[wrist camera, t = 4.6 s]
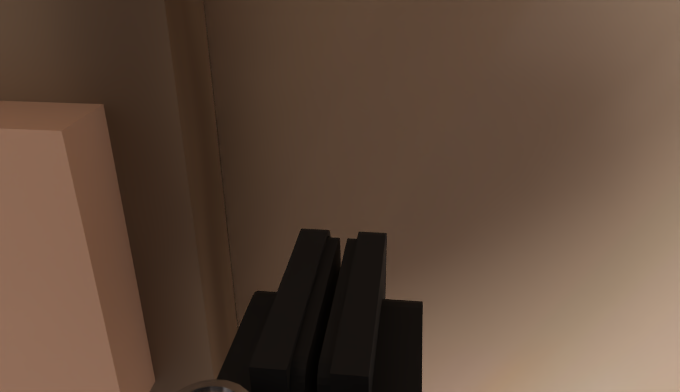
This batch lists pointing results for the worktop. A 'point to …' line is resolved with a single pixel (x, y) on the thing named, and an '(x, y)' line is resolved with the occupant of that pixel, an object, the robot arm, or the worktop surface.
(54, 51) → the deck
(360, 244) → the robot arm
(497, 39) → the worktop surface
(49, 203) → the tile
